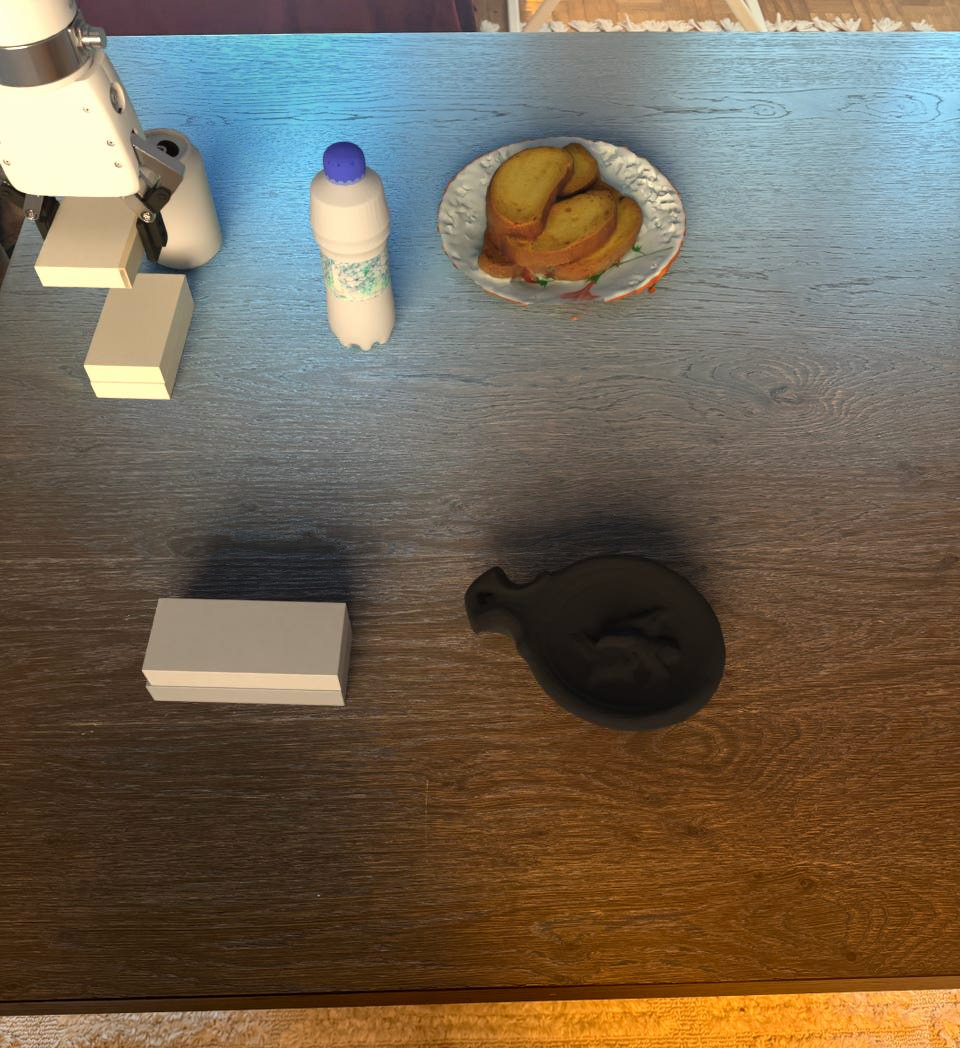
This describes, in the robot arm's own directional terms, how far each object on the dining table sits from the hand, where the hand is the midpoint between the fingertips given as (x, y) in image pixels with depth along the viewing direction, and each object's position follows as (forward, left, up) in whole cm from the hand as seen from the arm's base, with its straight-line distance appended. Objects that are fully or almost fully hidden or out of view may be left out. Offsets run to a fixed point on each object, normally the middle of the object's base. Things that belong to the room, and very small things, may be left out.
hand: (110, 248), depth 80 cm
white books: (0, 0, -12) cm, 12 cm away
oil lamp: (+40, -30, -12) cm, 51 cm away
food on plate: (+39, +18, -12) cm, 45 cm away
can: (+1, +14, -12) cm, 19 cm away
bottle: (+20, +3, -12) cm, 23 cm away
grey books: (+15, -32, -12) cm, 37 cm away
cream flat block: (0, 0, +1) cm, 1 cm away
